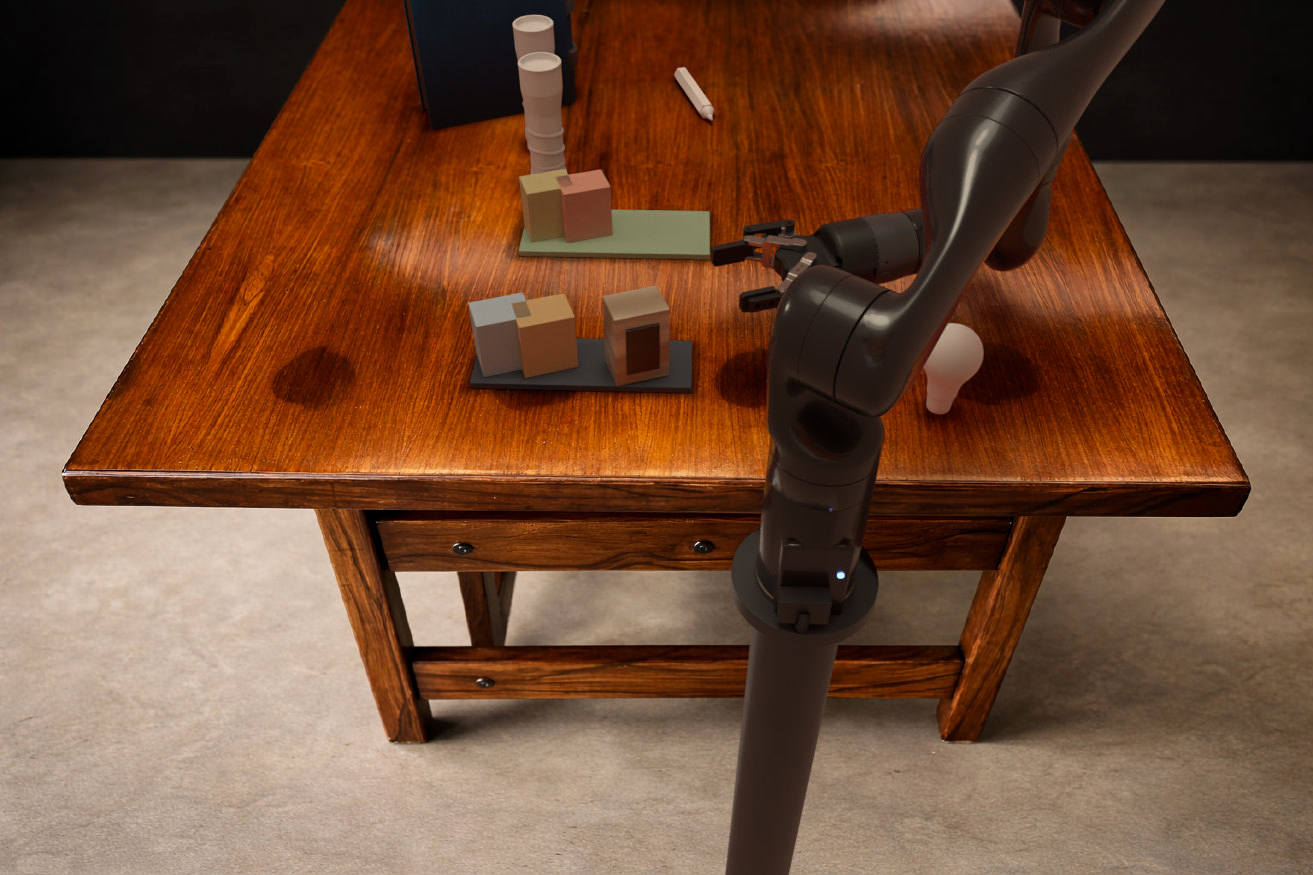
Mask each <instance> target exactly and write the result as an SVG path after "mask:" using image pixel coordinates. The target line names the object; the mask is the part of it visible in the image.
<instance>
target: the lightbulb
mask: <svg viewBox="0 0 1313 875" xmlns="http://www.w3.org/2000/svg"><path fill="white" fill-rule="evenodd" d="M984 354H985V352H984V345H983V342H982V340H981V339H980V337H979V335H978V334H977V333H976V332H975V330H973V329H972V328H971V327H969V326H967V325H965V324H961V323H957V322H955V323H953V322H949V323H948V325H947V326H946V328H945V330H944V332H943V333H942V335H941V337H940V339H939V341H938V342H937V344H936V346H935V348H934V349H933V351H932V353H931V355H930V357H929V358H928V360H927V362H926V363H925V365H924V367H923V368H922V369H923V370H924V372H925V374H926V378H927V384H926V393H927V396H926V403H925V406H926V408H927V410H928V411H929V412H930V413H932V414H935V415H945V414H947V413H948V412H950V410H951V407H952V405H953V402H954V400H955V399H956V398H957V396H958V394H959V391H960V389H961V388H962V386H963V385H964V384H965V383H966V382H968V381H969V380H970V379H971V378H973V376H974V375H976V374H977V373H978V371H979V369H980V368H981V366H982V364H983V361H984Z"/></svg>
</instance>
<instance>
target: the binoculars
mask: <svg viewBox="0 0 1313 875" xmlns="http://www.w3.org/2000/svg"><path fill="white" fill-rule="evenodd" d="M512 26H513V32H514V42H515V51H516V55H517V59H518V68H519V78H520V88H521V93H522V97H523V103H522V104H523V106H524V111H525V113H524V124H525V127H524V136H525V139H526V143H527V144H526V145H527V150H528V151H529V154H530V175H531V174H537V173H543V172H549V171H555V170H562V169H566V171H567V172H568V169H567V166H566V158H565V150H566V145H565V143H564V136H563V134H564V131H565V129H564V127H563V121H562V106H561V101H562V88H563V85H562V71H561V59H560V58H559V57H558V56H557V55H555V54H554V51H555V44H554V30H553V21H552V20H551V19H550V18H549V17H546V16H542V15H527V16H522V17H520V18H517V19H516V20H515V21H514V22H513V24H512Z"/></svg>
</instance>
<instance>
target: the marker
mask: <svg viewBox="0 0 1313 875" xmlns="http://www.w3.org/2000/svg"><path fill="white" fill-rule="evenodd" d="M673 76H674V78H675V80H677V82H678V84H679V86H680V87H681V89H682V90H683V91H684V93H685V94H686V95H687V97H688V99H689V100H690V102H691V103H692V104H693V106H694V108H695V109H696V111H697V112H698V113H699V115H700V116H701V118H702V119H708V120H709V121H712V122H713V119H714V118H713V115H714V113H715V111H716V109H715V108H714V106H713V105H712V103H711V102H710V100H709V98H708V97H707V96H706V94H704V92H703V91H702V89H701V88H700V87H699V85H698V83H697V82H696V80H695V78H693V76H692V75H691V74H690V72H689V71H688V69H687V68H686V66H683V67H677V68H676V70H675V72H674V74H673Z"/></svg>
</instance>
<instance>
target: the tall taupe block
mask: <svg viewBox="0 0 1313 875" xmlns="http://www.w3.org/2000/svg"><path fill="white" fill-rule="evenodd" d="M670 316H671V310H670V307H669V305H668V304H667V302H666V300H665V298H664V295H663V294H662V292H661V291H660V289H659V287H658V285H652V286H651V285H650V286H645V287H640V288H636V289H631V290H626V291H620V292H615V293H610V294H605V295H602V317H603V336H604V337H603V339H604V340H605V360H606V364H607V366H608V368H609V370H610V373H611V375H612V377H613V379H614V382H615V384H616V386H621V385H626V384H630V383H635V382H639V381H644V380H649V379H653V378H658V377H663V376H667V375H669V340H671V339H670V335H671V334H670V333H671V332H670V331H671V330H670V329H671V328H670V327H671V326H670V325H671V324H670V323H671V320H670V319H671V317H670Z"/></svg>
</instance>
